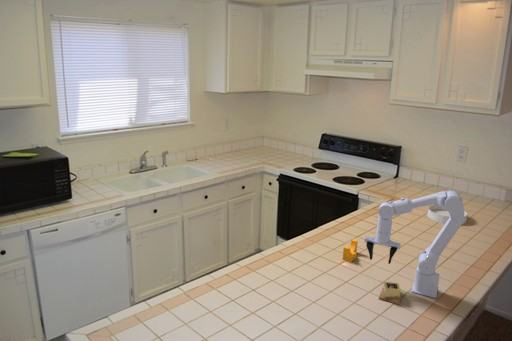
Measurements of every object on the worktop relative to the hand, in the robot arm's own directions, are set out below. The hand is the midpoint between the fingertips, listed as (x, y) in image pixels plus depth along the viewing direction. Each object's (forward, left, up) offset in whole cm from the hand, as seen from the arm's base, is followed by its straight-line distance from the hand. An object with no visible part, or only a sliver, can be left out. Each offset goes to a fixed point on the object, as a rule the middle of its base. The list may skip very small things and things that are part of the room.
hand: (380, 260), depth 184 cm
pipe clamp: (+16, -19, -10) cm, 27 cm away
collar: (-7, +10, -9) cm, 15 cm away
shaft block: (-7, +10, -10) cm, 16 cm away
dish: (-22, -102, -10) cm, 105 cm away
